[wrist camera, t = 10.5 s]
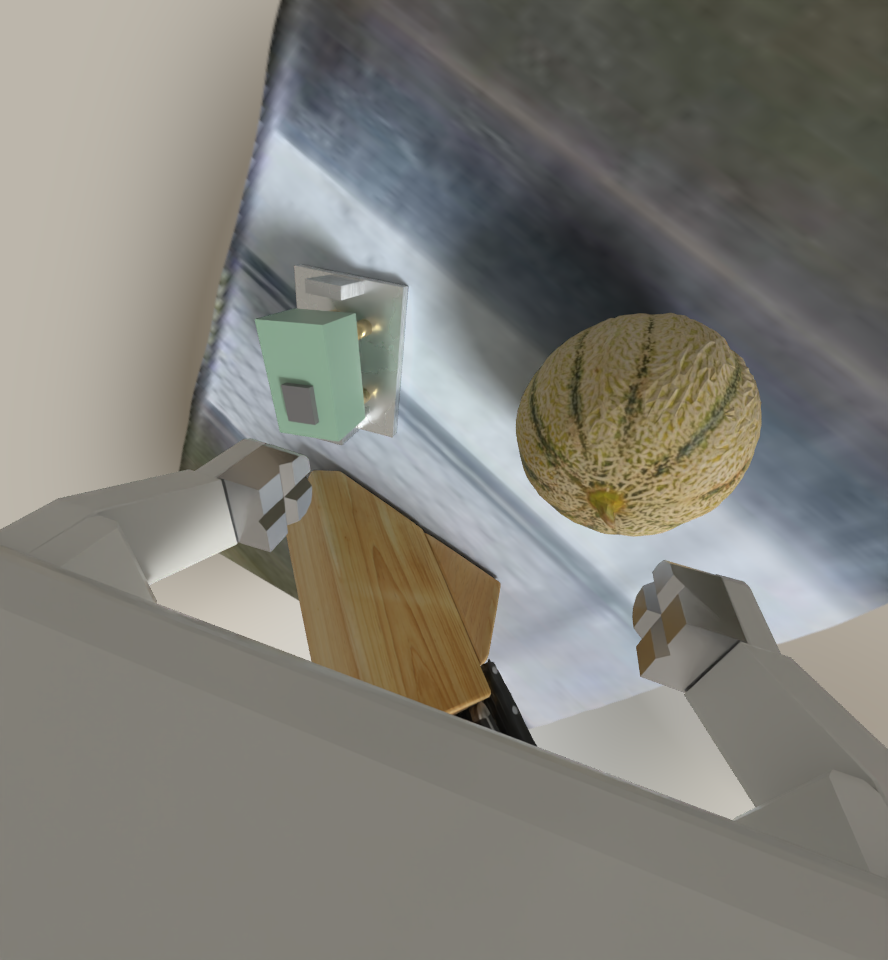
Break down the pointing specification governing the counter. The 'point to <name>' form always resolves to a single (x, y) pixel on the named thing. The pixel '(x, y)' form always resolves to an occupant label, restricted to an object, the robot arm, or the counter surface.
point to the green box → (313, 371)
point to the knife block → (397, 606)
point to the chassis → (365, 336)
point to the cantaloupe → (639, 424)
